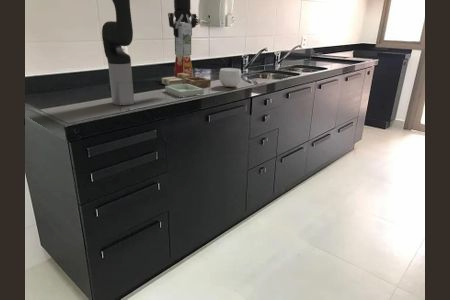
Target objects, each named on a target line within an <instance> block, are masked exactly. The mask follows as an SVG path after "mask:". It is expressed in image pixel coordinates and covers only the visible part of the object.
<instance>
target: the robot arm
mask: <svg viewBox="0 0 450 300" xmlns="http://www.w3.org/2000/svg"><path fill="white" fill-rule="evenodd" d="M111 1H112V3H113V6H114V9H115V21H113V20H112V21H110V20H109V21H106V22H105V23H103V25H102V28H101V38H102V44H103V51H104V54H105V57H106V59H107V65H108V67H107V68H108V75H109V85H110V94H111V101H112V105H115V106H121V105H123V106H129V105H134V104H135V95H134V94H135V93H134V84H133V71H132V60H131V56H130V55H129V54H128V53H126V52H125V51H124V50H123V47H128V46H130V45H131V44H132V42H133V39H134V38H133V37H134V36H133V35H134V31H133V21H132V14H131V0H111ZM191 9H192V8H191V0H173V10H174V12H168V13H167V17H168V25H169V27H170V28H172V29H173V36H174V38H175V37H178V29H177V28H178V26H179V24H180V23H189V24H191V37H192V35H193V29H194V28H197V27H196V26H197V14H196V13H191ZM174 18H175V19H174Z"/></svg>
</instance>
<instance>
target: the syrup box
mask: <svg viewBox="0 0 450 300" xmlns="http://www.w3.org/2000/svg"><path fill="white" fill-rule="evenodd" d="M177 29H178V37H175V36H174V55H175V56H176V55H182V56H185V55H190V56H191V55H192V36H191V24H189V23H185V22H180V24H179V26H178V28H177Z"/></svg>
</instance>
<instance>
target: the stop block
mask: <svg viewBox="0 0 450 300" xmlns="http://www.w3.org/2000/svg"><path fill="white" fill-rule="evenodd" d="M177 78H180V79H183V78H190V75H189V74H186V73H177Z"/></svg>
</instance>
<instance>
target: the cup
mask: <svg viewBox="0 0 450 300" xmlns="http://www.w3.org/2000/svg"><path fill="white" fill-rule="evenodd" d="M218 73H219V75H218V78H219V79H218V80H219V82H220V85H222V86H224V88H226V87H234V88H235V87H236V86H238V85H240V83H241V81H242V70H241V69H240V68H237V67H236V68H235V67H225V68H224V67H223V68H220V70H219V72H218Z"/></svg>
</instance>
